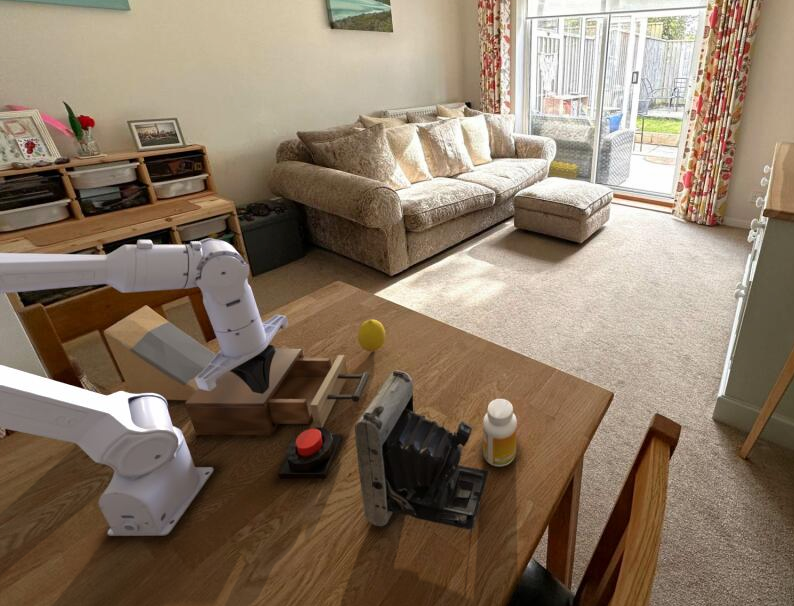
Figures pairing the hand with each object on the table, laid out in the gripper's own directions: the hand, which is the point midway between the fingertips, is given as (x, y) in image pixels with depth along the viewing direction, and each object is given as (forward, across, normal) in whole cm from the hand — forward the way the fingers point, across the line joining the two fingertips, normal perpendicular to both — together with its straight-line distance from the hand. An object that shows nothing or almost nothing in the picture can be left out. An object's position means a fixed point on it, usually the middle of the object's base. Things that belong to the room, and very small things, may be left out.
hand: (260, 389), depth 64 cm
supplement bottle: (+12, -7, +37) cm, 40 cm away
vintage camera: (+11, +4, +30) cm, 32 cm away
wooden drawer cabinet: (+10, -5, -9) cm, 14 cm away
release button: (+8, +2, +9) cm, 12 cm away
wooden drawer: (+10, -8, +3) cm, 13 cm away
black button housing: (+11, +2, +9) cm, 14 cm away
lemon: (+12, -24, +4) cm, 27 cm away
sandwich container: (+10, -5, -26) cm, 28 cm away
